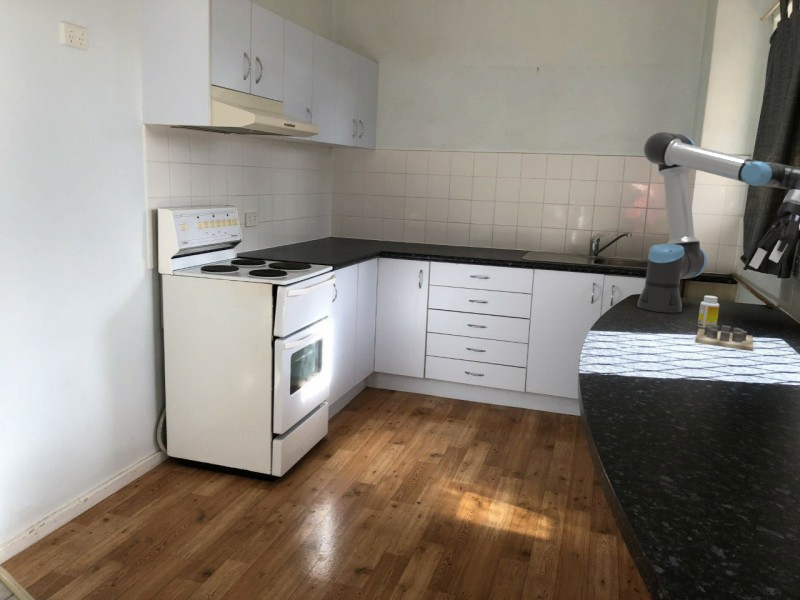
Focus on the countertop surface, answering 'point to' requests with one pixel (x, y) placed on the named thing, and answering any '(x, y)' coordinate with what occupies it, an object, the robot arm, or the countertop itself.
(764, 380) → the countertop surface
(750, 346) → the collar plate
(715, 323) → the supplement bottle
